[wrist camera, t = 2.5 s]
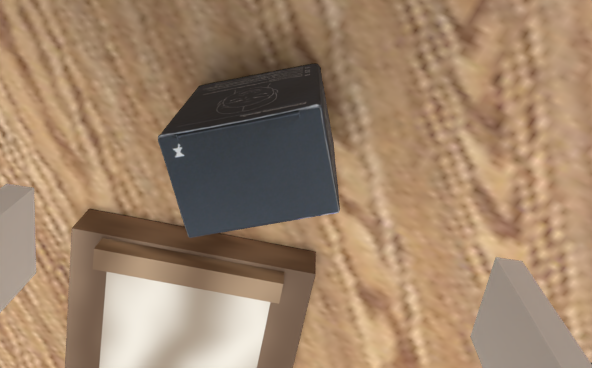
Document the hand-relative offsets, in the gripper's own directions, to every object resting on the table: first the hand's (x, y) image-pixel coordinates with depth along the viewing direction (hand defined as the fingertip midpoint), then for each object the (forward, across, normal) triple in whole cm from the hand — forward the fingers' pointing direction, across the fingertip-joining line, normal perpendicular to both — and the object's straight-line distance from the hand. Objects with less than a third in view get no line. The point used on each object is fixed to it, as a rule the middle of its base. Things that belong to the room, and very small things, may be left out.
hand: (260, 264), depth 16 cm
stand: (+21, -5, -17) cm, 28 cm away
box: (+21, -1, -2) cm, 21 cm away
